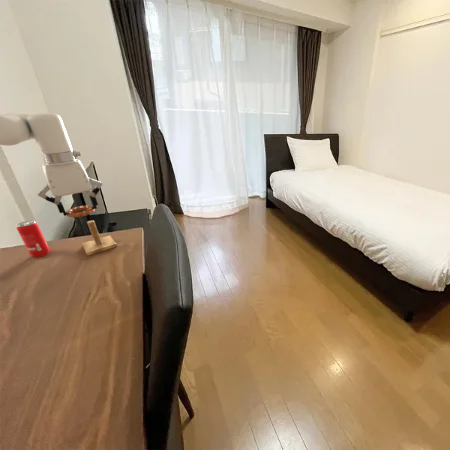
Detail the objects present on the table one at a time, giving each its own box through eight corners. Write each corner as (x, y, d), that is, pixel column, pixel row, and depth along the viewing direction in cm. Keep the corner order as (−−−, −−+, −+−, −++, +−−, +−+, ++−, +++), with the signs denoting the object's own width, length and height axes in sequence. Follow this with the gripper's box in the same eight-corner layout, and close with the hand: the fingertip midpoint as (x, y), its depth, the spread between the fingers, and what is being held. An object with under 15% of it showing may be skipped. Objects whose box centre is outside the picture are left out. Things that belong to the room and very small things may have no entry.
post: (87, 255, 94) (77, 229, 90) (82, 246, 100) (72, 221, 96) (117, 246, 100) (108, 221, 96) (110, 237, 106) (102, 214, 101)
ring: (68, 220, 85) (66, 216, 85) (65, 213, 90) (63, 209, 90) (97, 213, 90) (95, 209, 90) (92, 207, 95) (91, 203, 94)
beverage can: (27, 257, 94) (11, 225, 88) (43, 249, 98) (28, 219, 93) (38, 259, 92) (23, 227, 87) (54, 251, 97) (40, 221, 92)
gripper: (91, 151, 90) (108, 201, 98) (20, 159, 79) (45, 214, 87) (96, 155, 85) (113, 207, 93) (20, 164, 74) (47, 222, 82)
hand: (80, 210), depth 90 cm, fingers closed on ring, 7 cm apart
